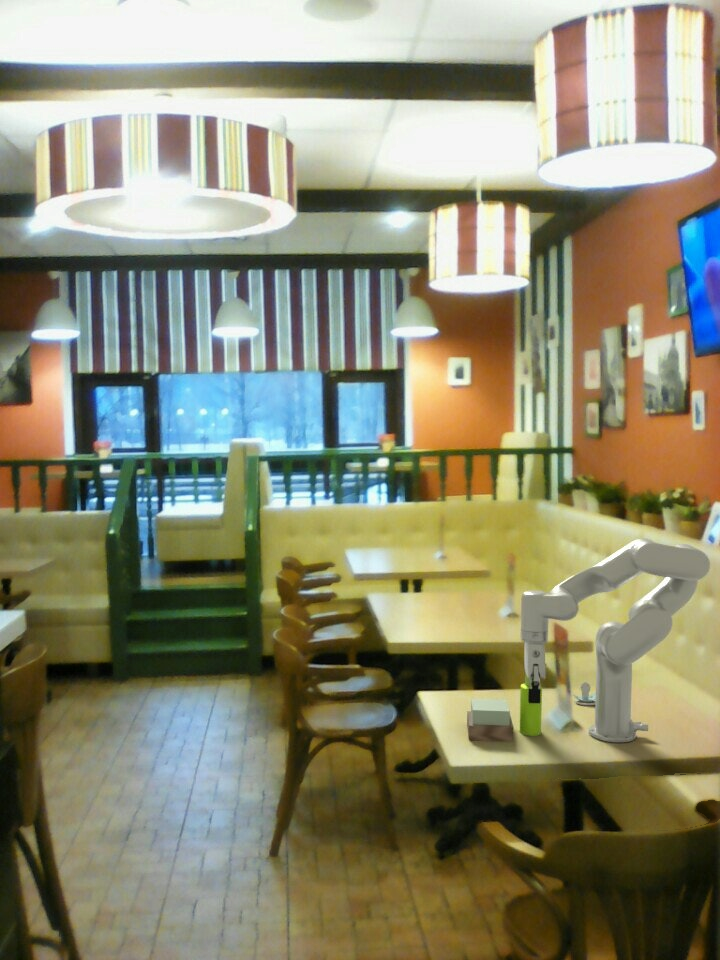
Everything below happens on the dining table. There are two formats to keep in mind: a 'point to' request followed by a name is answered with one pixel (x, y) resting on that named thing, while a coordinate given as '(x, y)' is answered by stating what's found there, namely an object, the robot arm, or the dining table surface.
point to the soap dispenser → (529, 711)
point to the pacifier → (585, 695)
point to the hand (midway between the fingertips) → (532, 698)
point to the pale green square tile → (490, 712)
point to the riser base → (489, 731)
